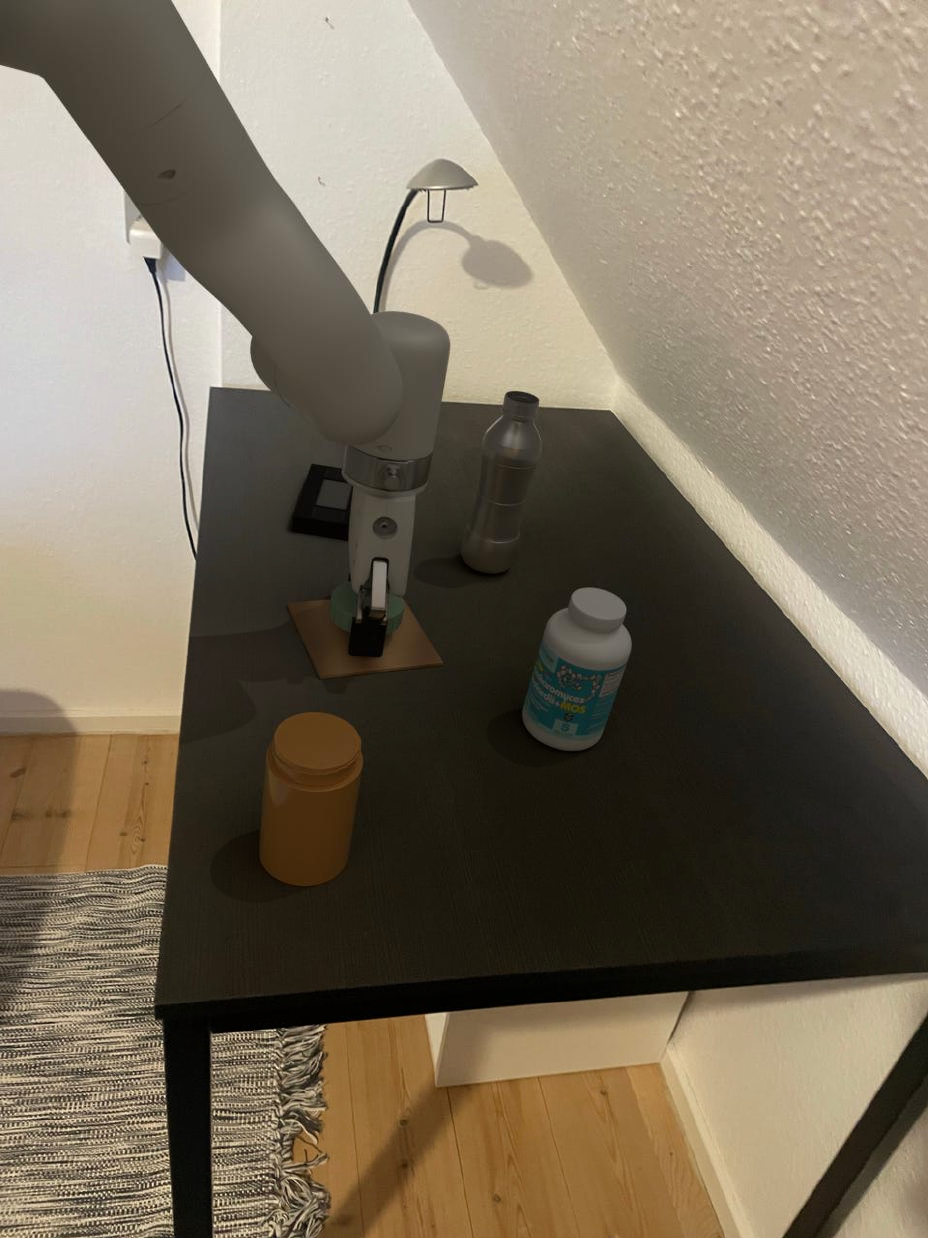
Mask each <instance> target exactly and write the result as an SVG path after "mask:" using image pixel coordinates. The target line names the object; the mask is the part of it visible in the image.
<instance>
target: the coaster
mask: <svg viewBox="0 0 928 1238" xmlns="http://www.w3.org/2000/svg"><path fill="white" fill-rule="evenodd" d="M402 599H403V601H404V612H403V618H402V623H401V625H400V626H399V628H398V629H397V630H396V631H394V632H393V633H390V634H388V635H386V636H385V642H384V649H383V655H382V656H381V657H365V656H351V655H349V654H348V645H349V638H350V632H347V631H345V630H343V629H341V628H340V627H338V626H337V625H336V624H335V623H334V622H333V621H332V619H331V618H330V617H329V611H328V609H329V602H330V600H331V598H329V599H317V600H315V599H314V600H304V601H289V602H286V608H287V609H288V612H289V614H290V616H291V618H292V621H293V623H294V626H295V627H296V630H297V632H298V634H299V636H300V639H301V640H302V643H303V645H304V647H305V650H306V652H307V654H308V656H309V659H310V661H311V663H312V665H313V667H314V670H315V671H316V674H317V676H318V678H319V680H324V679H334V678H342V677H351V676H352V677H353V676H361V675H369V674H371V675H372V674H378V673H380V674H381V673H388V672H396V671H406V670H415V669H424V668H433V667H442V666H443V665H444V662H443V660H442V658H441V657H440V655H439V654H438V652H437V650H436V649H435V647H434V645H433V644H432V642H431V641H430V639H429V637H428V636H427V634H426V633H425V631H424V630H423V628H422V626H421V624H420V623H419V622H418V620H417V618H416V616H415V615H414V613H413V612H412V610H411V608H410V607H409V605H408V604H407V602H406V600H405V599H404V596H403V597H402Z"/></svg>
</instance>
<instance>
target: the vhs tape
mask: <svg viewBox="0 0 928 1238" xmlns="http://www.w3.org/2000/svg"><path fill="white" fill-rule="evenodd" d="M352 494H353V485H351V484H350V483H348V482H347V481H346V480H345V479H344V477H343V475H342V468H341V467H335V466H329V465H324V464H318V463H311V464H310V467H309V469H308V472H307V475H306V477H305V480H304V483H303V486H302V489H301V492H300V495H299V497H298V500H297V503H296V506H295V507H294V511H293V513H292V521H291V530H290V531H291V532H297V533H302V534H309V535H315V536H322V537H328V538H334V539H341V540H347V541H349V522H350V511H351V502H352Z"/></svg>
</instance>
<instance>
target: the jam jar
mask: <svg viewBox="0 0 928 1238" xmlns="http://www.w3.org/2000/svg"><path fill="white" fill-rule="evenodd" d="M361 750H362V738H361V735H359V734H358V731H357V730H356V729H355V727H354V726H353V725H352V724H351V723H349V722H348V721H347V720H345V719H344V718H342V717H340V716H337V715H335V714H332V713H326V712H320V711H309V712H308V711H307V712H301V713H297V714H294V715H292V716H289V717H288V718H286V719H285V720H283V721H282V722H281V723H280V724H279V725H277V728H276V729H275V731H274V735H273V737H272V741H271V743H270V744H269V746H268V747H267V749H266V755H265V765H264V775H263V789H262V803H261V815H260V816H261V817H260V825H259V838H258V839H259V840H258V858H259V861H260V863H261V865H262V867H263V868H264V870H265V871H266V872H267V873H268V874H269V875H270V876H271V877H273V878H274V879H276V880H277V881H279V882H282V883H284V884H287V885H290V886H296V887H313V886H319V885H322V884H325V883H328V882H330V881H331V880H333V879H335V878H337V877H338V875H340V874H341V872H342V871H343V870H344V869H345V868H346V865H347V864H348V862H349V858H350V851H351V844H352V838H353V831H354V826H355V825H354V824H355V819H356V814H357V813H356V812H357V807H358V806H357V805H358V799H359V793H360V788H361V781H362V780H361V779H362V775H363V766H364V756H363V754H362V751H361Z"/></svg>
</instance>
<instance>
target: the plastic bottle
mask: <svg viewBox="0 0 928 1238" xmlns="http://www.w3.org/2000/svg"><path fill="white" fill-rule="evenodd" d="M539 406H540V399H539V397H538V396H536V395H535V394H532V393H530V392H526V391H521V390H509V391H506V393H505V395H504V398H503V402H502V405H501V408H500V413H501V414H502V415H501V416H500V417H499V418H498V419H496V421H494V423H492V425H491V426H490V427H488V428H487V430H486V432H485V434H484V435H483V438H482V439H481V440H482V441H481V447H480V449H481V451H480V465H479V466H480V467H479V477H478V484H477V489H476V495H475V500H474V504H473V506H472V509H471V513H470V517H469V519H468V522H467V524H466V527H465V529H464V532H463V534H462V537H461V540H460V555H461V557H462V560H463V561H464V563H465V564H466V565H467V566H468V567H469V568H471V570H475V571H477V572H479V573H485V574H500V573H503V572H505V571H507V570H508V569H509V568H511V567H512V566H513V565H514V563H515V561H516V559H517V556H518V554H519V552H520V543H521V540H520V539H521V537H520V536H521V533H520V531H521V524H522V518H523V511H524V506H525V502H526V497H527V495H528V492H529V488H530V485H531V482H532V479H533V477H534V474H535V472H536V469H537V468H538V464H539V462H540V459H541V457H542V453H543V442H542V438H541V436H540V433H539V430H538V428H537V427H536V424H535V420H537V419H538V417H539V412H538V411H539Z"/></svg>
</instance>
